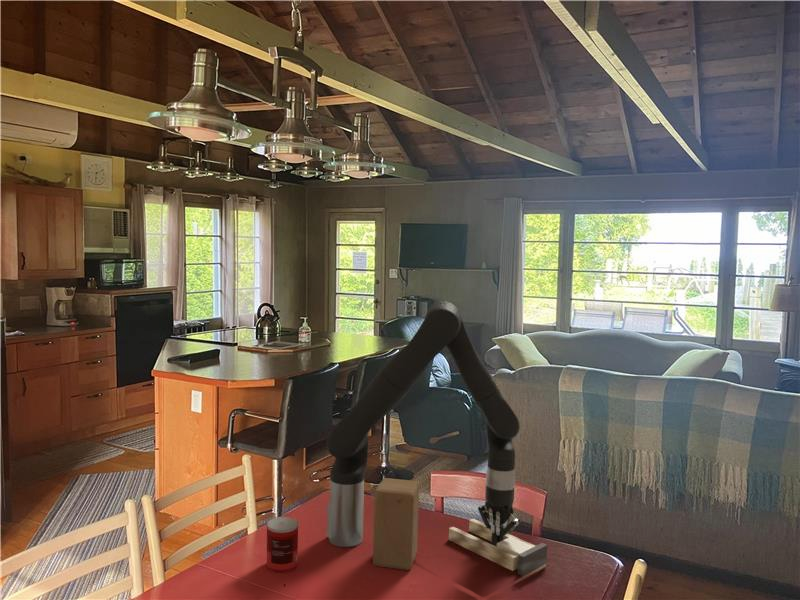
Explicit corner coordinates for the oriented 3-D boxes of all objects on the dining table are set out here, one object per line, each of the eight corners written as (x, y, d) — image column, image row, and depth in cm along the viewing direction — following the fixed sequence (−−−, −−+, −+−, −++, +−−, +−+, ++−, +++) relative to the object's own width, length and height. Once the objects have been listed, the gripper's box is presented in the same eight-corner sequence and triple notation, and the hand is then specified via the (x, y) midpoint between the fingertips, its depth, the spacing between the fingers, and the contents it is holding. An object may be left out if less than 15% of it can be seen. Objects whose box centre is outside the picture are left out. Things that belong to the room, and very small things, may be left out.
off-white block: (496, 558, 165) (496, 543, 165) (510, 551, 170) (511, 536, 169) (521, 570, 160) (521, 554, 159) (535, 562, 164) (536, 547, 163)
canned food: (285, 554, 166) (286, 514, 165) (303, 566, 160) (304, 524, 159) (260, 564, 160) (260, 522, 159) (278, 576, 155) (278, 533, 154)
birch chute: (445, 541, 176) (446, 521, 175) (469, 531, 183) (470, 512, 182) (522, 578, 157) (523, 556, 156) (546, 566, 164) (547, 545, 163)
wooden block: (410, 572, 159) (413, 494, 157) (371, 566, 161) (373, 490, 159) (417, 553, 168) (419, 480, 167) (380, 548, 170) (382, 476, 169)
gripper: (471, 479, 170) (469, 541, 171) (511, 494, 160) (508, 560, 162) (489, 473, 175) (487, 534, 176) (529, 487, 165) (526, 551, 167)
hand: (497, 546), depth 169 cm, fingers closed
